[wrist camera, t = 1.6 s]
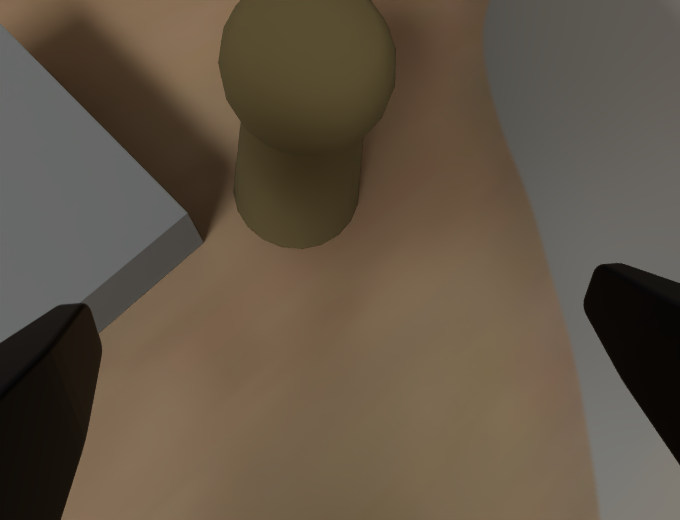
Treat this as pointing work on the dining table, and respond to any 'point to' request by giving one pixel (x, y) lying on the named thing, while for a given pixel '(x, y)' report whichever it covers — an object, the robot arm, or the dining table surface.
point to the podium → (74, 205)
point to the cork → (303, 110)
